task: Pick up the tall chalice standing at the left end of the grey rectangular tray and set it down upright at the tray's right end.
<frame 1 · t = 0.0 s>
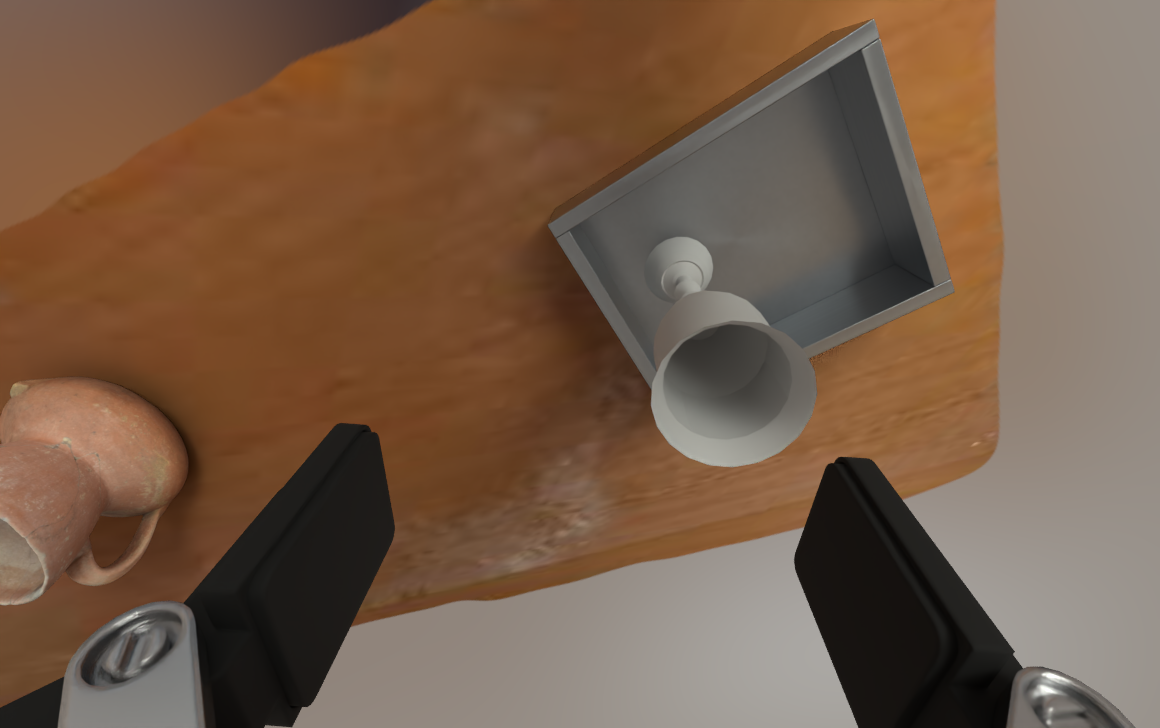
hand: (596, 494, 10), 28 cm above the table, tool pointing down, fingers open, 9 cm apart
ceramic jug: (134, 433, 47), on the table
grey rectangular tray: (734, 238, 36), on the table
chalice: (678, 270, 37), resting on grey rectangular tray
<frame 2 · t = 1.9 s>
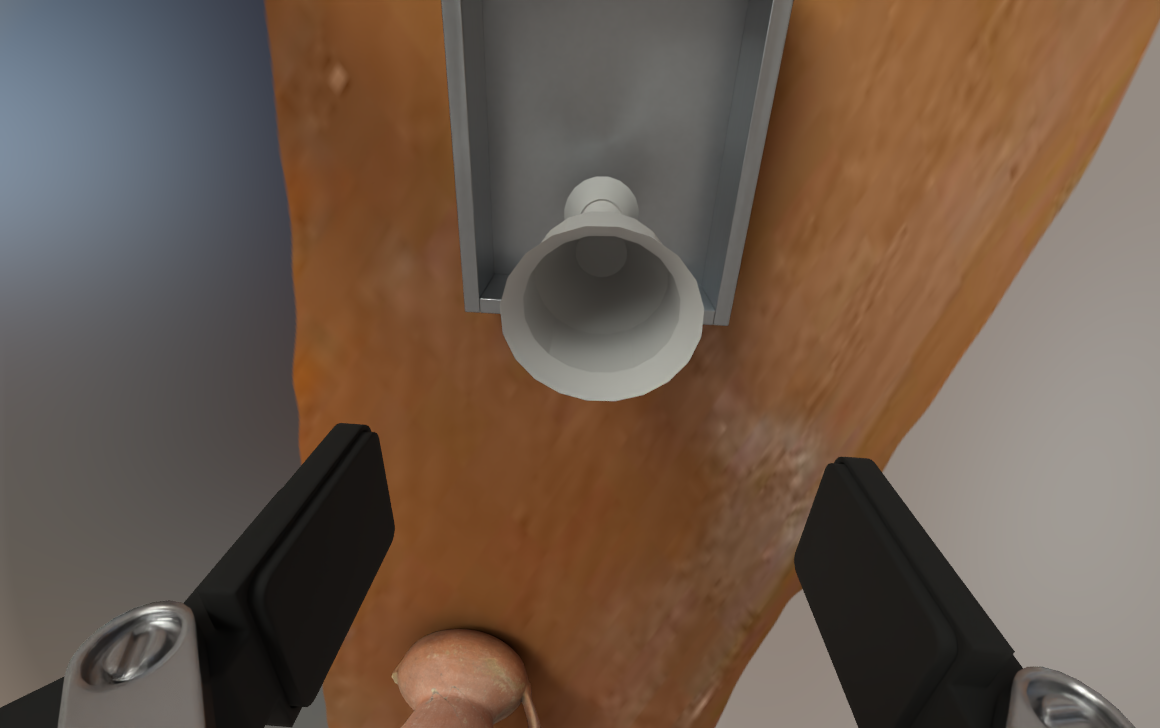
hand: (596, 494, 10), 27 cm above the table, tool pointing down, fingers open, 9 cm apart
ceramic jug: (474, 651, 59), on the table
grey rectangular tray: (605, 142, 32), on the table
chalice: (601, 214, 34), resting on grey rectangular tray
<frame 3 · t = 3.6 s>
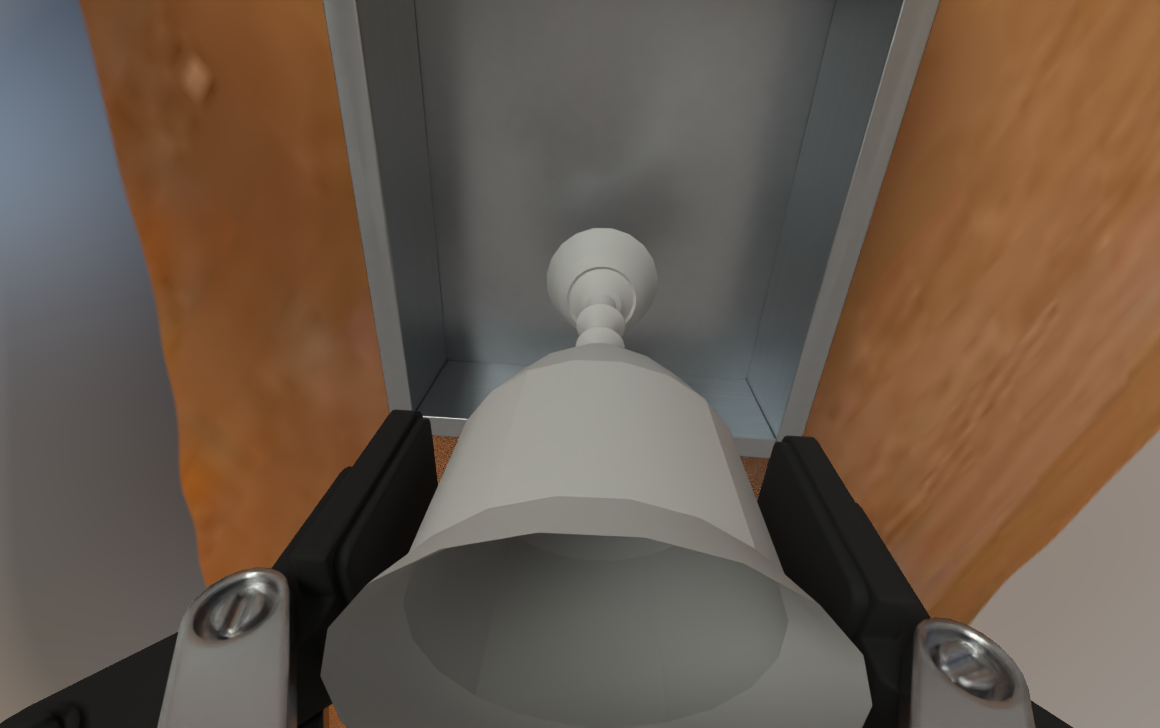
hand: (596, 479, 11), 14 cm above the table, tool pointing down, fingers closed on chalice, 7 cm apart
grey rectangular tray: (608, 178, 21), on the table
chalice: (601, 282, 23), resting on grey rectangular tray, touching gripper
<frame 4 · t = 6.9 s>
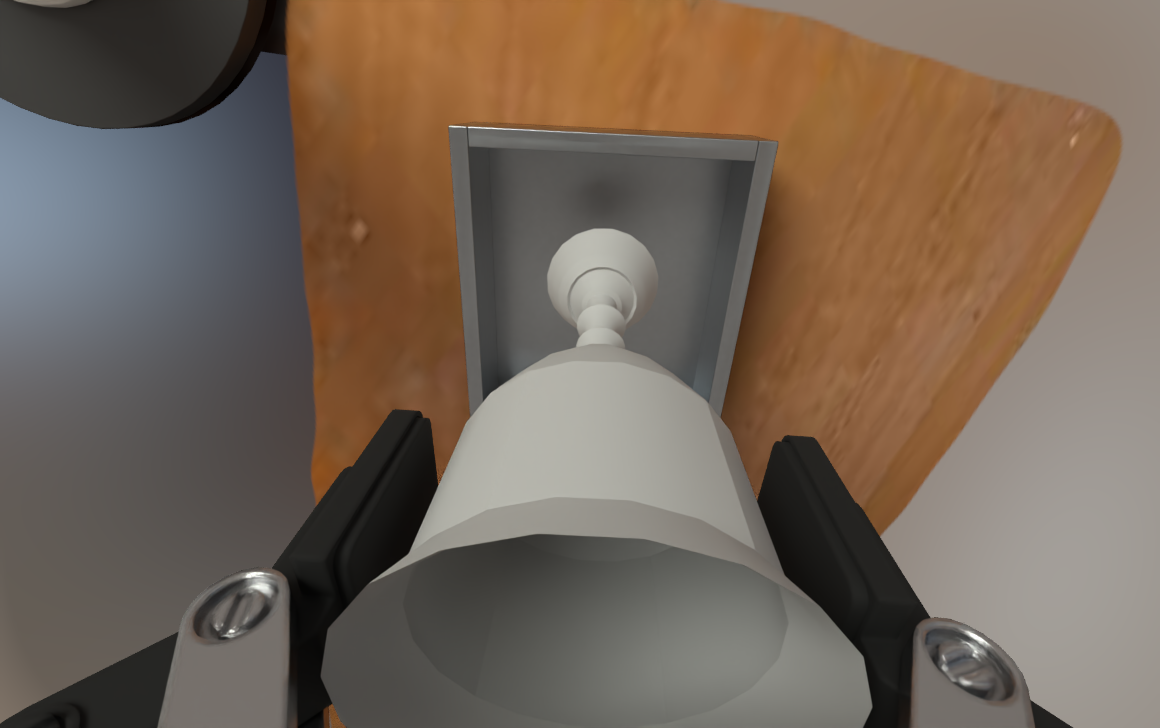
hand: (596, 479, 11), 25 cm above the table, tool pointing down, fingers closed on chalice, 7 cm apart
grey rectangular tray: (601, 286, 35), on the table
chalice: (602, 282, 23), point 11 cm above the table, touching gripper
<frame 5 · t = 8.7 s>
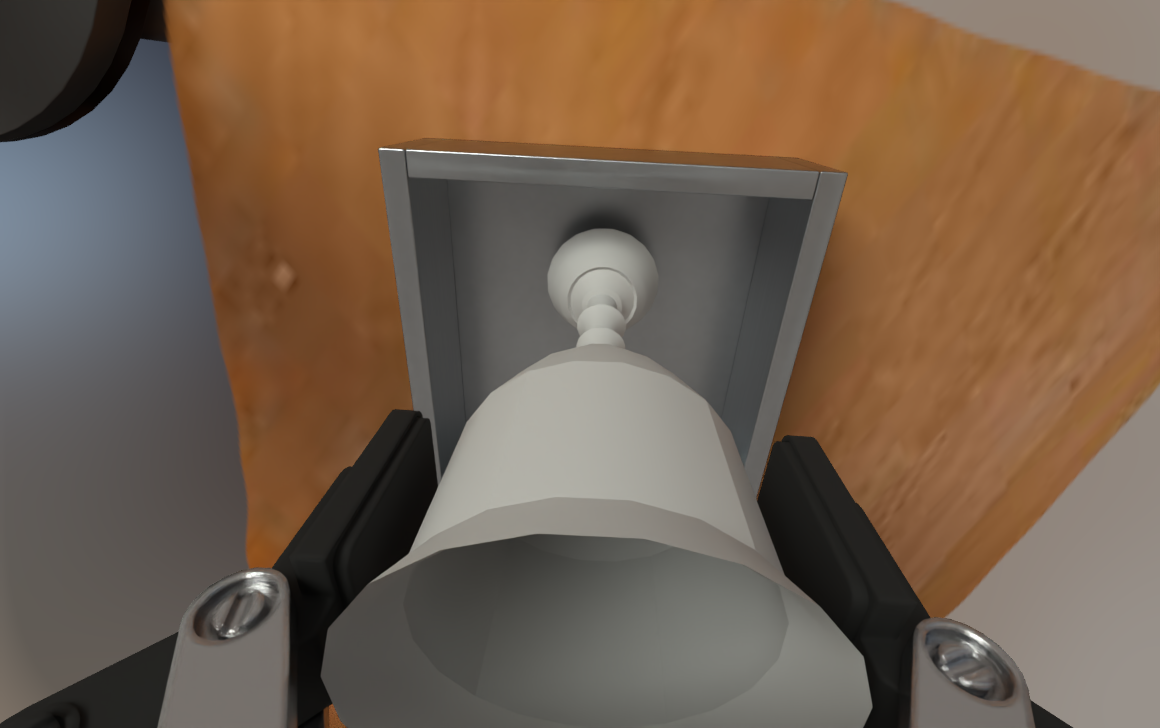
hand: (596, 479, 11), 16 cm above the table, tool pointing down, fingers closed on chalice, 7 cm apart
grey rectangular tray: (596, 345, 27), on the table
chalice: (602, 282, 23), point 3 cm above the table, touching gripper
when the fingers open (14 cm above the table, at t = 10.0 s): chalice stays where it is, resting on grey rectangular tray.
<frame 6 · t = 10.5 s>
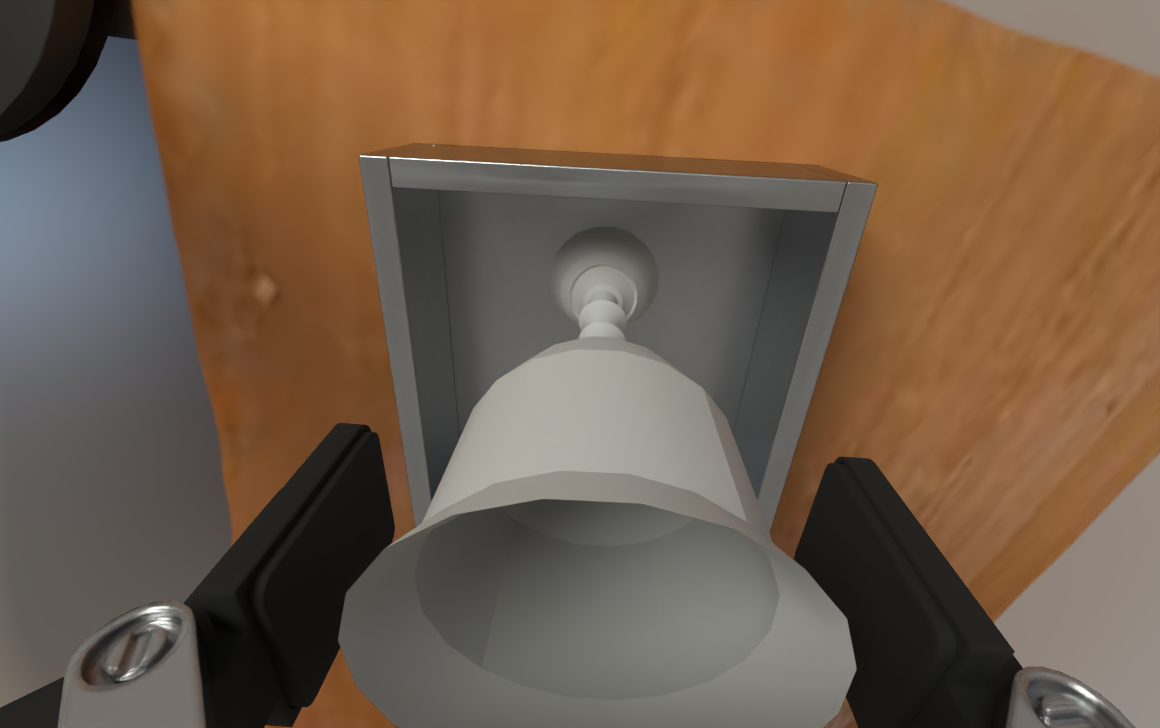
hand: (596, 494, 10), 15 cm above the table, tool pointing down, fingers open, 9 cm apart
grey rectangular tray: (598, 363, 25), on the table
chalice: (603, 279, 23), resting on grey rectangular tray
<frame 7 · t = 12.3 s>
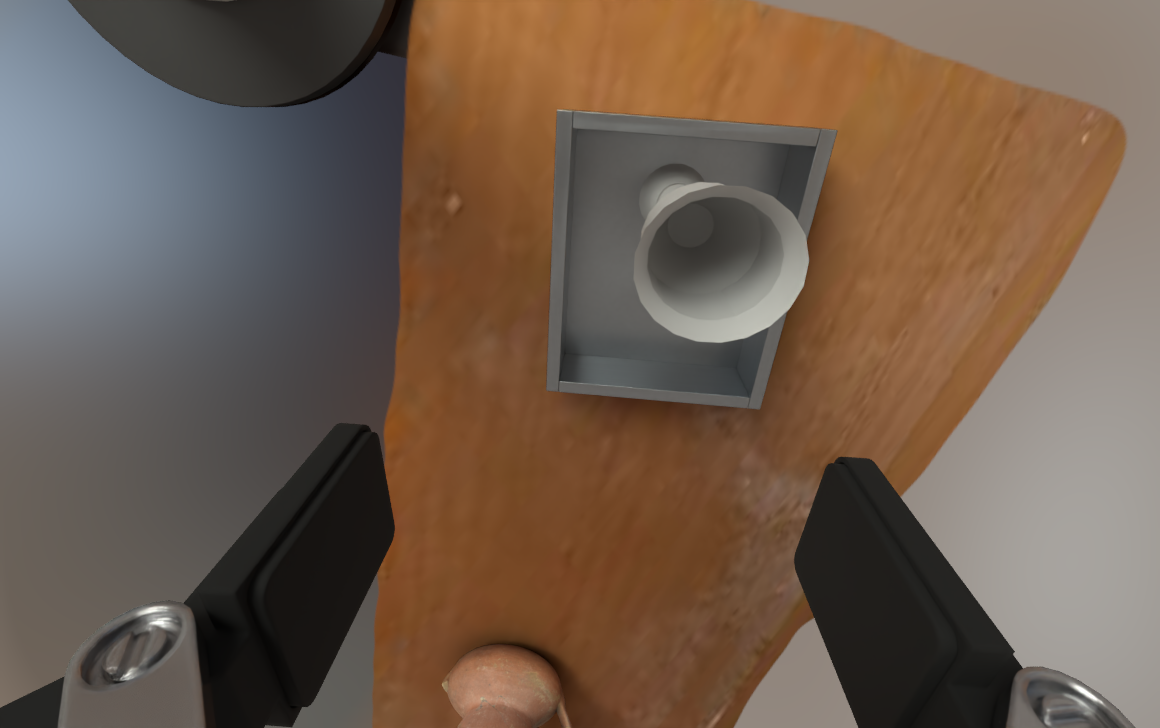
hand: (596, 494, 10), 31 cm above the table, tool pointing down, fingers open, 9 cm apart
ceramic jug: (513, 664, 66), on the table
grey rectangular tray: (664, 258, 39), on the table
chalice: (672, 199, 37), resting on grey rectangular tray
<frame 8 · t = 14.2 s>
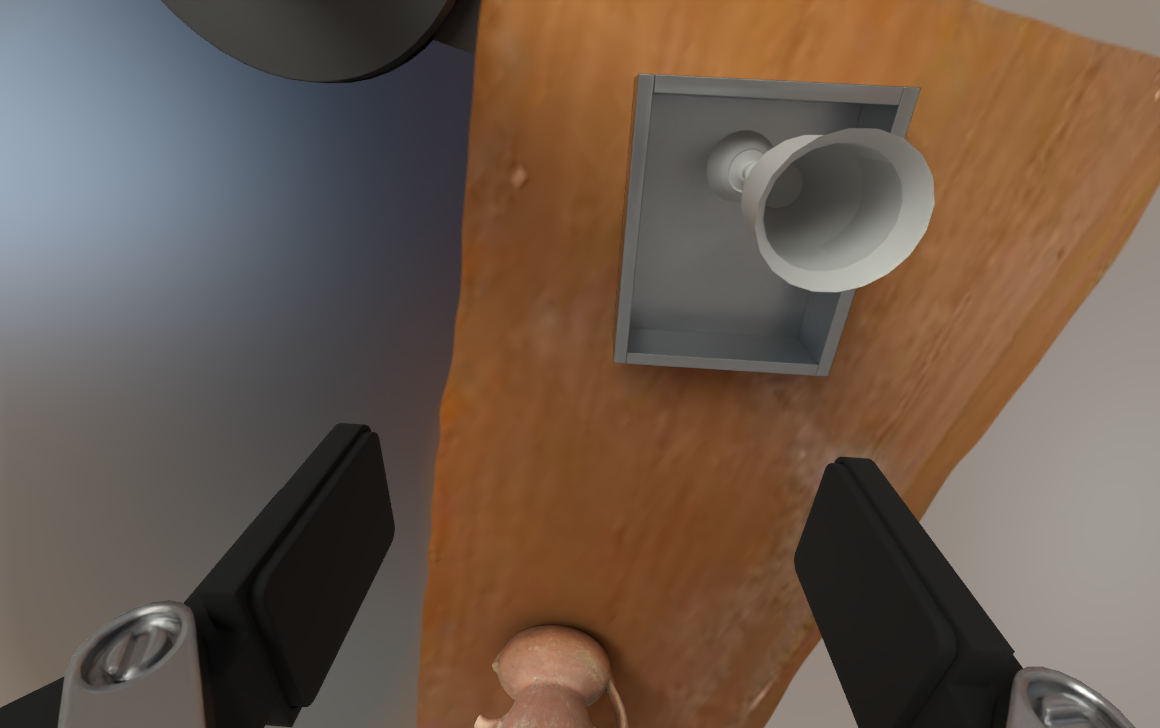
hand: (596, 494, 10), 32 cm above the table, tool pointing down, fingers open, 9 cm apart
ceramic jug: (560, 645, 66), on the table
grey rectangular tray: (729, 227, 39), on the table
chalice: (740, 167, 37), resting on grey rectangular tray
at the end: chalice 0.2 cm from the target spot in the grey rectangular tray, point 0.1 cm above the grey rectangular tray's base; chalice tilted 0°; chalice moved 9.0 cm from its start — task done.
